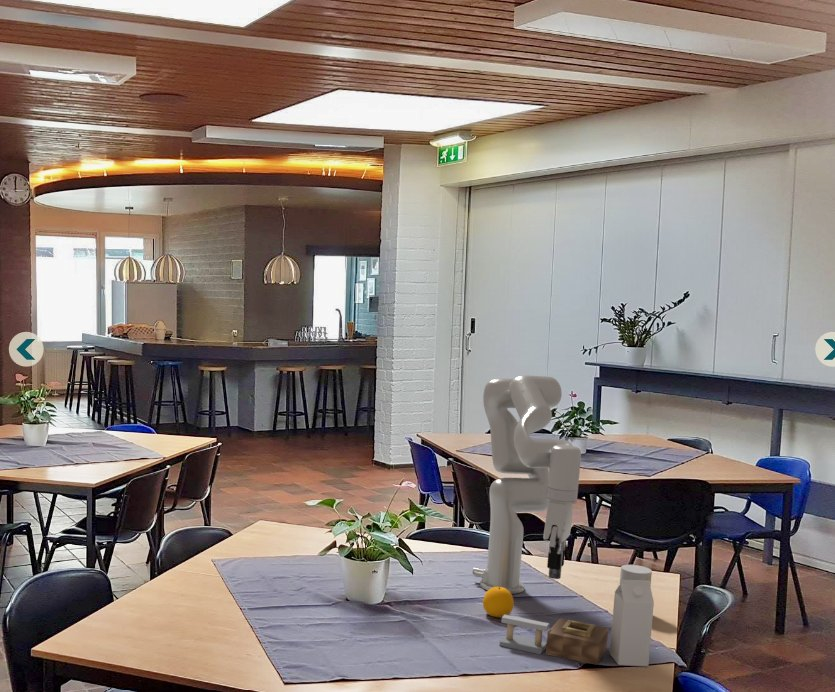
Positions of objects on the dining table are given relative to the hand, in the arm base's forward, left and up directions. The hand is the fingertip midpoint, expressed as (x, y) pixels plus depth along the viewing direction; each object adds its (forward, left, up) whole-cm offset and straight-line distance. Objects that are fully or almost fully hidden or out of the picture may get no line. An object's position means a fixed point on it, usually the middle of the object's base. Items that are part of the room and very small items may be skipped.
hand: (555, 566), depth 237 cm
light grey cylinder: (+16, +27, -16) cm, 35 cm away
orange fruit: (-15, +3, -16) cm, 22 cm away
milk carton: (+21, -10, -16) cm, 29 cm away
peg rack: (-3, -15, -16) cm, 22 cm away
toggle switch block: (+9, -11, -16) cm, 22 cm away
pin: (0, 0, -3) cm, 3 cm away
